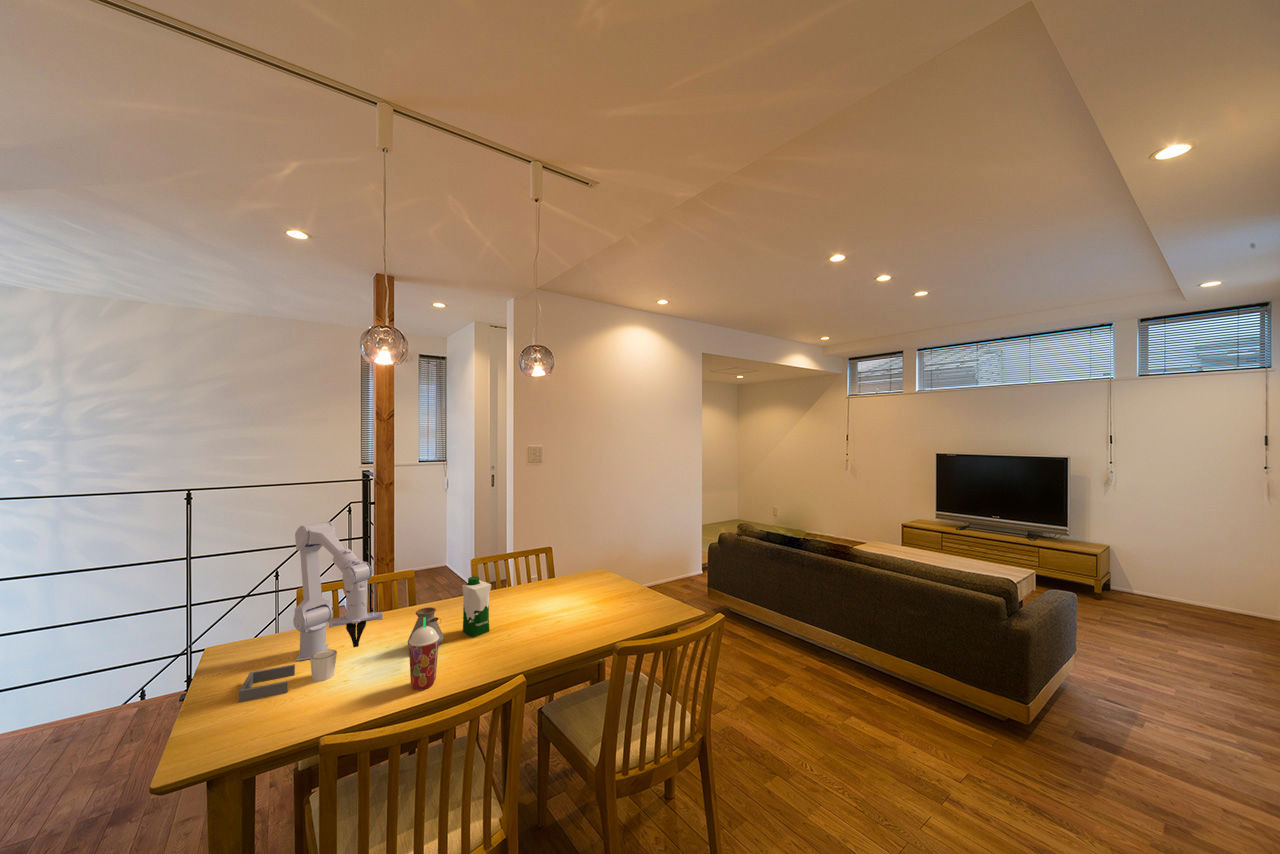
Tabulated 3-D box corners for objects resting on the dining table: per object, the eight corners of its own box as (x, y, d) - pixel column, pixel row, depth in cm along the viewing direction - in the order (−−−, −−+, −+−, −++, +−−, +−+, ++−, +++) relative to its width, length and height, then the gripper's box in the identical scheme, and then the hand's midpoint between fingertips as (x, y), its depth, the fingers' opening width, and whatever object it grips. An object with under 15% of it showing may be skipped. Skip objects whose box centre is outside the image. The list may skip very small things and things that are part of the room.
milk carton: (479, 625, 184) (480, 574, 185) (493, 631, 179) (494, 578, 179) (458, 632, 177) (459, 579, 178) (472, 639, 172) (473, 584, 172)
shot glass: (331, 669, 149) (332, 646, 150) (339, 676, 145) (340, 653, 145) (306, 677, 144) (306, 654, 144) (313, 685, 140) (314, 661, 140)
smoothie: (442, 677, 145) (444, 612, 145) (431, 692, 136) (433, 623, 137) (415, 677, 145) (416, 612, 145) (402, 692, 136) (403, 623, 136)
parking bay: (249, 682, 141) (250, 672, 141) (294, 673, 146) (295, 664, 146) (238, 702, 130) (238, 691, 130) (287, 692, 136) (287, 682, 136)
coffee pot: (404, 645, 166) (405, 603, 167) (438, 637, 173) (439, 596, 174) (417, 670, 149) (418, 622, 150) (455, 660, 156) (456, 614, 157)
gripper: (327, 610, 142) (327, 656, 142) (382, 602, 149) (381, 646, 149) (330, 603, 148) (329, 646, 148) (383, 596, 155) (382, 637, 155)
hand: (356, 645), depth 149 cm, fingers closed
